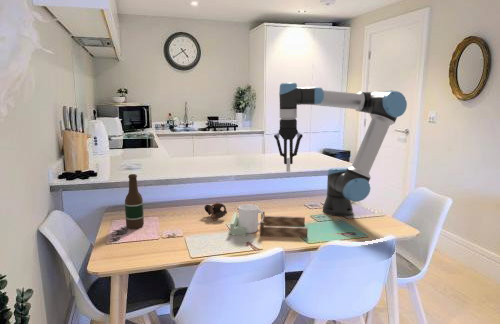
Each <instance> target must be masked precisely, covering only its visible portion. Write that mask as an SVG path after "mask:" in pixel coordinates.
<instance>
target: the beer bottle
mask: <svg viewBox="0 0 500 324" xmlns="http://www.w3.org/2000/svg"><path fill="white" fill-rule="evenodd" d="M127 177H128V193H127V194H126V196H125V199H124V213H125V226H126V228H127V229H129V230H139V229H141V228H143V226H144V221H145V219H144V218H145V217H144V215H145V214H144V199H143V197H142V196H143V195H142V194H141V193H140V192H139V188H138V181H137V178H138V175H137V174H134V173H131V174H129V175H128V176H127Z"/></svg>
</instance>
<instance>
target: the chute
mask: <svg viewBox="0 0 500 324" xmlns="http://www.w3.org/2000/svg"><path fill="white" fill-rule="evenodd" d="M261 211H262V212H263V214H264V218H263V215H262V214H261V213H260V219H261V220H262V218H263V221H261V220H260V221H259V222H260V225H259V226H260V227H259V230H260V231H259V236H260V237H280V238H281V237H283V238H285V237H286V238H308V231H309V229H308V226H307V227H306V226H305V224H306V223H305V222H306V221H305V220H306V218H305V216H294V215H293V216H292V215H291V216H289V215H288V216H287V215H286V216H285V215H265V213H266V212H265V211H263V210H261Z"/></svg>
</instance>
